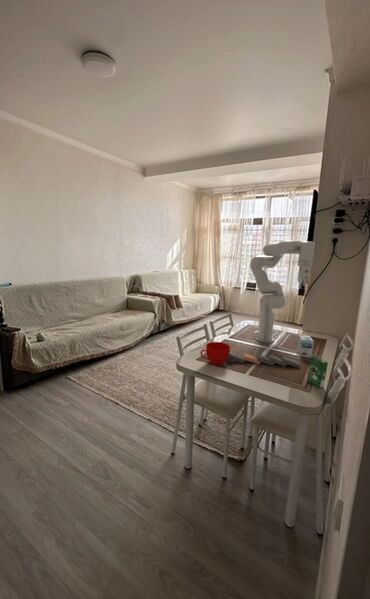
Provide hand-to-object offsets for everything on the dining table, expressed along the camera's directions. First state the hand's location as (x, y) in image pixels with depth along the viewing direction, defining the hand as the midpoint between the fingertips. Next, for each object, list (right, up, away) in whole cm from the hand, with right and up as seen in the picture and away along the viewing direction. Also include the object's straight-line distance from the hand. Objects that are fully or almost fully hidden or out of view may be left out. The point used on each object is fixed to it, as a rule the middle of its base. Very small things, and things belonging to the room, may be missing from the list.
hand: (301, 295), depth 163 cm
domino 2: (-35, -36, -4) cm, 50 cm away
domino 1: (-38, -37, -4) cm, 53 cm away
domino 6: (-5, -38, -8) cm, 39 cm away
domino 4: (-18, -37, -6) cm, 42 cm away
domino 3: (-25, -37, -5) cm, 45 cm away
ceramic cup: (-51, -38, -9) cm, 64 cm away
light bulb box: (+6, -36, +10) cm, 38 cm away
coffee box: (-4, -43, -27) cm, 52 cm away
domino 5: (-12, -38, -7) cm, 40 cm away
